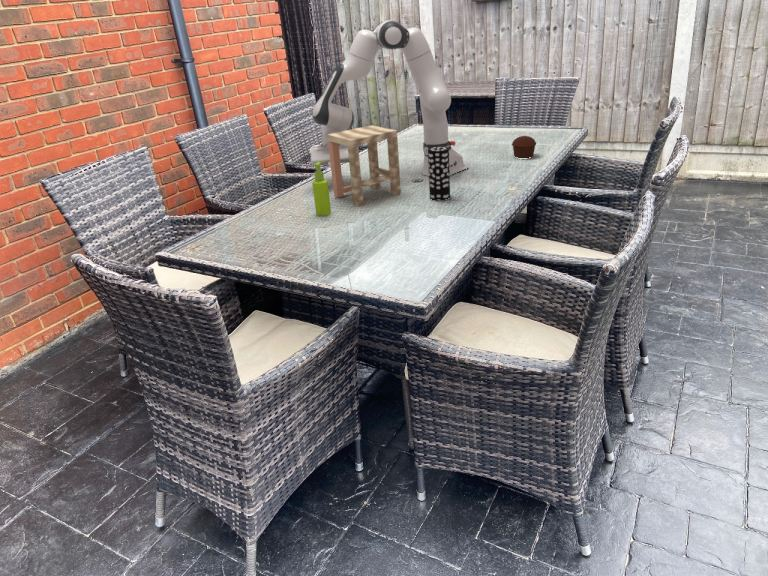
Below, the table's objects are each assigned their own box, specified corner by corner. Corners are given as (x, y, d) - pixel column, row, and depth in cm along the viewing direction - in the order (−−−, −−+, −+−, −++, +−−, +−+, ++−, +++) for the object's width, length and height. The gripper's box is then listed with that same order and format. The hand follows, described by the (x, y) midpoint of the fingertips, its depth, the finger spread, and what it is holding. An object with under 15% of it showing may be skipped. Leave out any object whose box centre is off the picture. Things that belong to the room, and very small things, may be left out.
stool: (376, 185, 260) (371, 125, 249) (400, 193, 247) (396, 130, 235) (334, 197, 250) (327, 134, 238) (357, 206, 236) (351, 140, 224)
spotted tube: (449, 201, 234) (447, 151, 225) (428, 201, 236) (426, 151, 227) (451, 194, 241) (450, 146, 232) (431, 194, 243) (429, 146, 234)
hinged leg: (358, 189, 256) (353, 136, 246) (362, 190, 253) (357, 137, 243) (334, 196, 249) (328, 142, 239) (338, 197, 247) (332, 143, 237)
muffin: (532, 153, 291) (533, 133, 287) (538, 159, 281) (539, 138, 277) (508, 155, 291) (509, 135, 287) (513, 161, 281) (514, 140, 277)
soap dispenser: (334, 210, 234) (328, 160, 225) (327, 216, 228) (321, 165, 219) (321, 209, 236) (315, 160, 227) (313, 215, 230) (307, 165, 221)
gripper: (308, 142, 256) (310, 169, 252) (354, 137, 257) (357, 165, 253) (309, 150, 262) (312, 177, 258) (355, 145, 263) (358, 172, 259)
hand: (335, 171), depth 255 cm, fingers closed
